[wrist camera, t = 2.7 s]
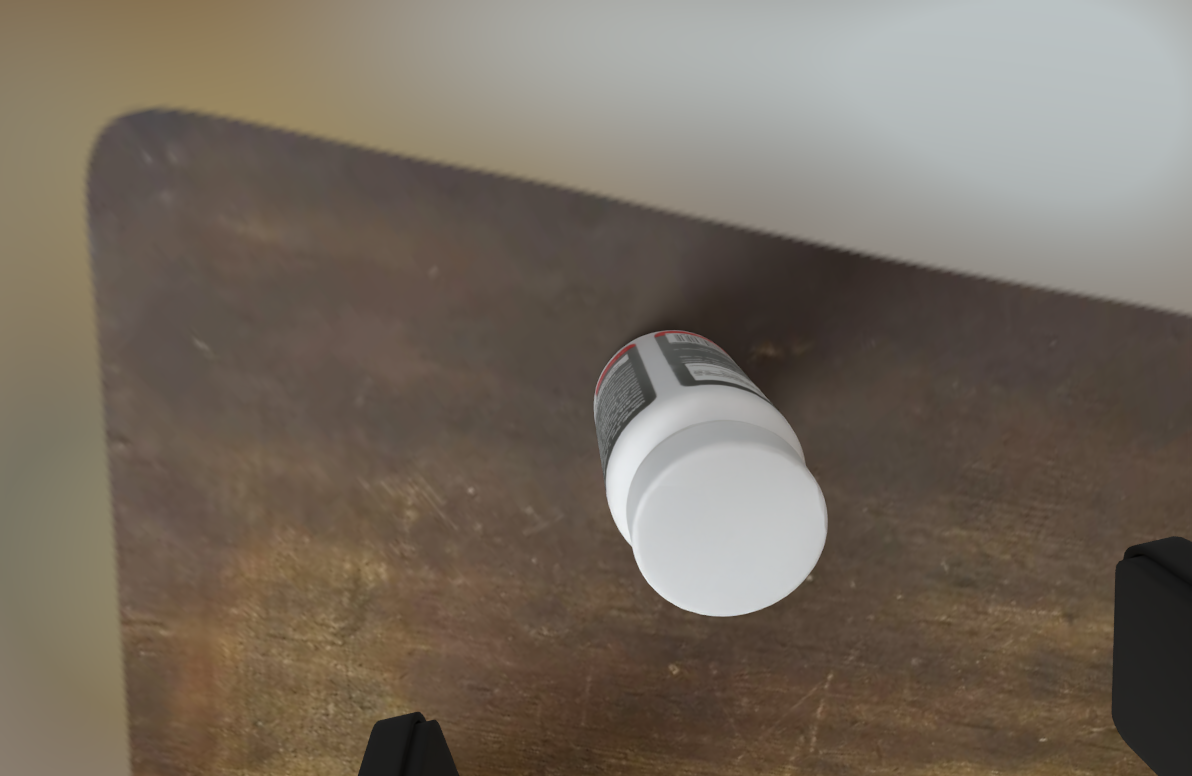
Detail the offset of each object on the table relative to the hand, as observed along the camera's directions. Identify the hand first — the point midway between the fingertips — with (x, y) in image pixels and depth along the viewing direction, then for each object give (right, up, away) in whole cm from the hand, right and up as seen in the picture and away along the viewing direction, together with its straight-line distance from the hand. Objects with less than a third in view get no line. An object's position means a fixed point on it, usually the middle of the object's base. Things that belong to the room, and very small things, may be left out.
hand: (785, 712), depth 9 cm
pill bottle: (0, +4, +13) cm, 13 cm away
